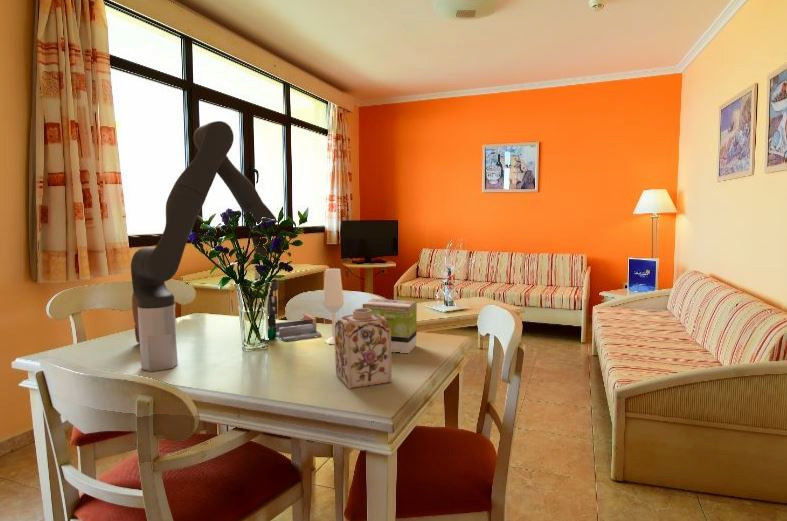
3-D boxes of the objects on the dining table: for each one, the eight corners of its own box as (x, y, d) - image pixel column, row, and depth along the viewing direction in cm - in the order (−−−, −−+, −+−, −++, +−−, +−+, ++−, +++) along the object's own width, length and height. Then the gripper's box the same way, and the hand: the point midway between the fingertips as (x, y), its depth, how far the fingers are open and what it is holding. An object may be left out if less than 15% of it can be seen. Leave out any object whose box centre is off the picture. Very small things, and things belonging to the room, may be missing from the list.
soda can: (257, 339, 167) (256, 304, 166) (269, 336, 171) (267, 302, 170) (268, 341, 164) (266, 306, 163) (279, 338, 168) (278, 303, 167)
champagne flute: (347, 343, 162) (346, 269, 159) (327, 345, 159) (325, 271, 157) (340, 338, 168) (339, 267, 165) (321, 340, 165) (319, 268, 163)
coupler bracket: (321, 336, 171) (320, 320, 170) (284, 341, 164) (283, 325, 164) (303, 326, 186) (302, 311, 186) (268, 330, 180) (268, 315, 179)
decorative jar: (376, 369, 135) (376, 304, 133) (393, 382, 125) (392, 312, 123) (334, 375, 131) (332, 307, 129) (347, 389, 120) (345, 316, 118)
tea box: (361, 350, 153) (361, 303, 152) (372, 342, 163) (372, 297, 161) (409, 354, 149) (408, 305, 147) (417, 345, 158) (417, 299, 157)
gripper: (284, 277, 161) (285, 327, 163) (271, 273, 174) (272, 319, 175) (261, 279, 158) (262, 330, 159) (249, 274, 170) (251, 321, 171)
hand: (268, 324), depth 167 cm, fingers open, 8 cm apart
